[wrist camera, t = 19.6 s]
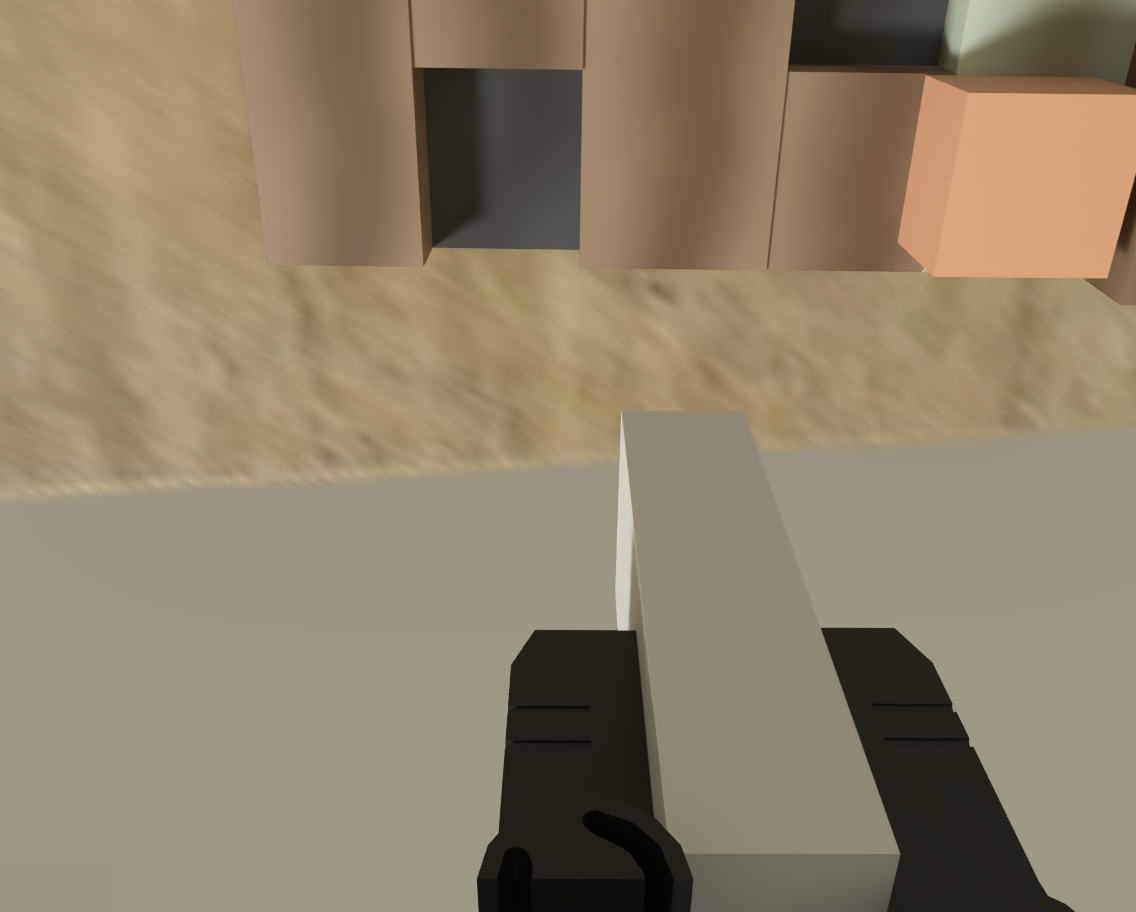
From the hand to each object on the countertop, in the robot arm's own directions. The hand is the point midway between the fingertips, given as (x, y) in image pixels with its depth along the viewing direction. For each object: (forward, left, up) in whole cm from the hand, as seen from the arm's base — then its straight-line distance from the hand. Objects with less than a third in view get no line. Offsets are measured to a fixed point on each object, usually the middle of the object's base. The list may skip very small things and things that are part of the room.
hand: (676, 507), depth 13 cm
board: (+2, +3, -23) cm, 23 cm away
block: (+11, 0, -21) cm, 23 cm away
